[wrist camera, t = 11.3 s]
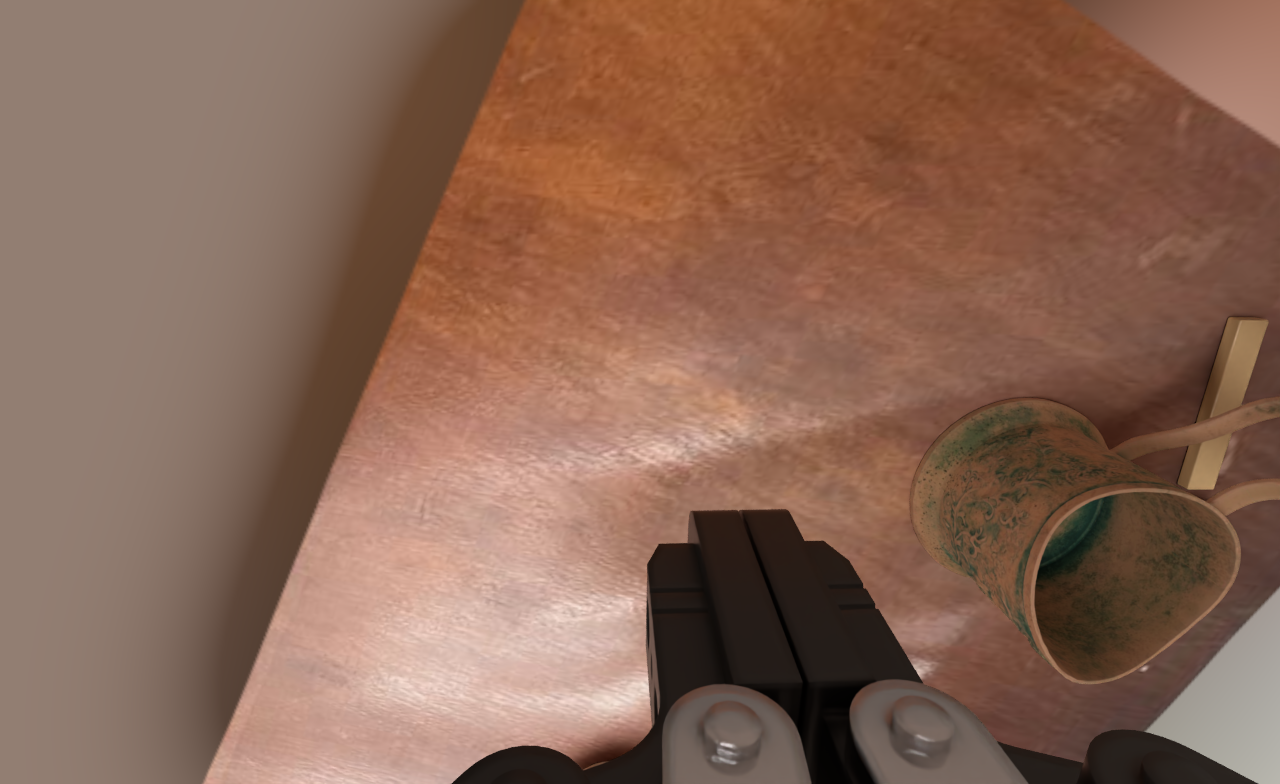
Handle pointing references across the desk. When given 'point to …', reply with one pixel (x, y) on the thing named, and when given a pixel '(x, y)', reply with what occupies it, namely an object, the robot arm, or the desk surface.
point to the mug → (1081, 530)
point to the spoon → (1223, 397)
